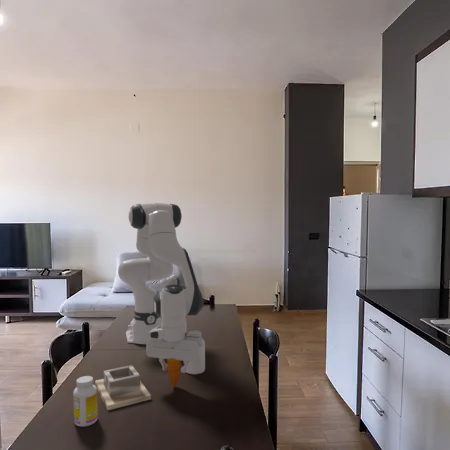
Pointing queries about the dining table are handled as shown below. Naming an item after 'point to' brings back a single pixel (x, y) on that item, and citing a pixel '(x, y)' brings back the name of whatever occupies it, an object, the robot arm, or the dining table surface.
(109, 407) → the anchor plate
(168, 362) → the carrot
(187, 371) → the pill bottle
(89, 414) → the supplement bottle
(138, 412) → the dining table surface
